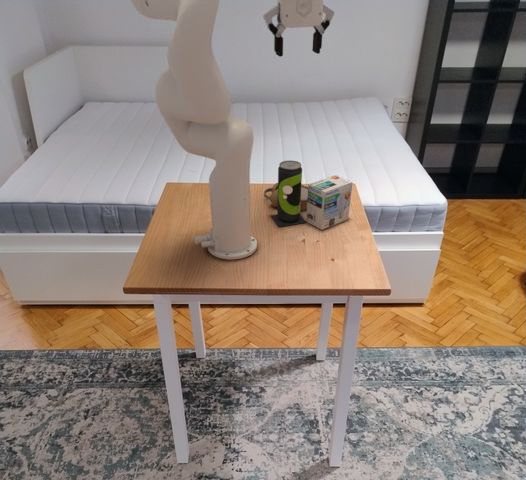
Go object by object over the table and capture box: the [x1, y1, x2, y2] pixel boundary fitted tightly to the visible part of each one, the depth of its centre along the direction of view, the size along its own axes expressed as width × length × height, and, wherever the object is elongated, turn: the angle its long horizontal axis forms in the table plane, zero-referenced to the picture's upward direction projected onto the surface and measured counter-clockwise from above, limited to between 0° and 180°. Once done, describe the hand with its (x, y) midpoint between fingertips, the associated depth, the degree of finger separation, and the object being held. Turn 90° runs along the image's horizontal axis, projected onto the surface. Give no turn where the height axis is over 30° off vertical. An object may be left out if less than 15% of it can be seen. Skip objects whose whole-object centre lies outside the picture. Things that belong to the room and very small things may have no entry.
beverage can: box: [277, 160, 303, 222], centre depth 134 cm, size 6×6×15 cm
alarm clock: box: [263, 182, 308, 211], centre depth 146 cm, size 11×5×15 cm
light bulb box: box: [305, 174, 353, 231], centre depth 135 cm, size 11×7×11 cm, turn 129°
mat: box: [270, 213, 307, 228], centre depth 139 cm, size 8×7×1 cm
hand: (297, 53), depth 122 cm, fingers open, 9 cm apart
